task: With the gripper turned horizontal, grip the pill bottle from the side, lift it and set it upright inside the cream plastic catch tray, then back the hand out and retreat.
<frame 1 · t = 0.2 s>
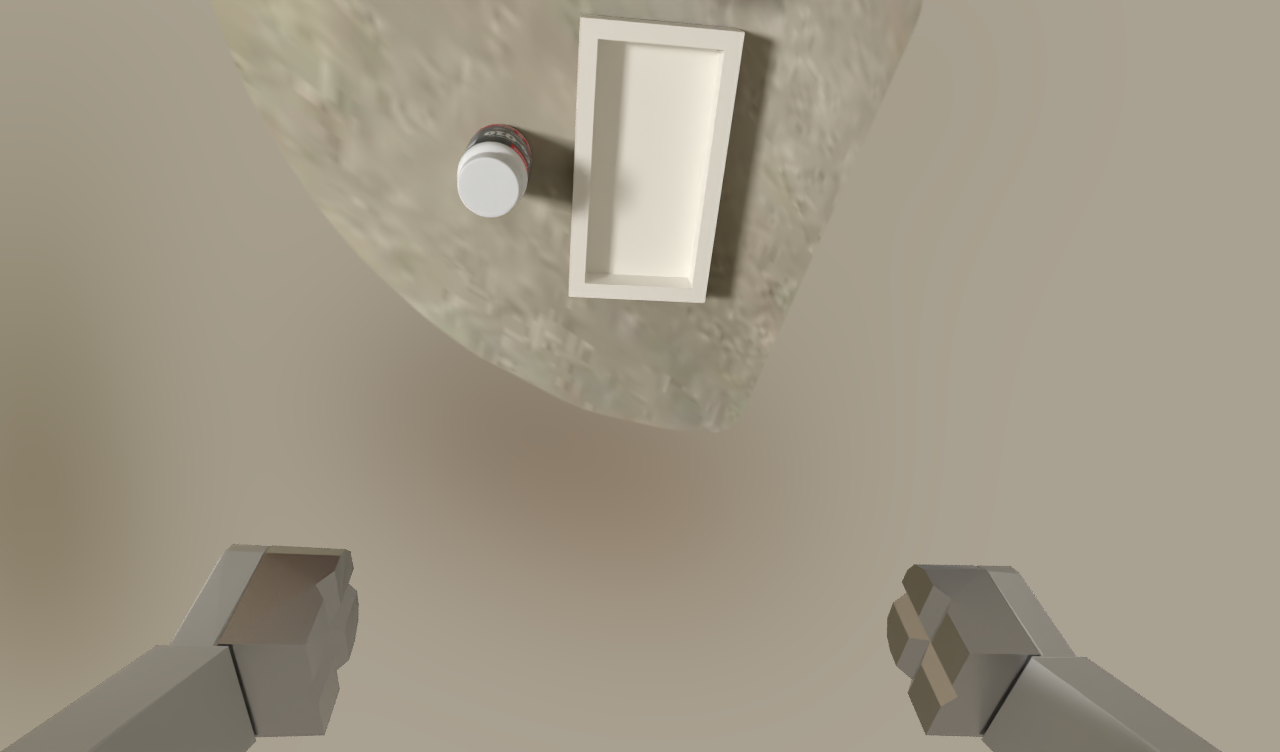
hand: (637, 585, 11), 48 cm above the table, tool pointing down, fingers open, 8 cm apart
pill bottle: (500, 154, 54), on the table
catch tray: (645, 165, 55), on the table
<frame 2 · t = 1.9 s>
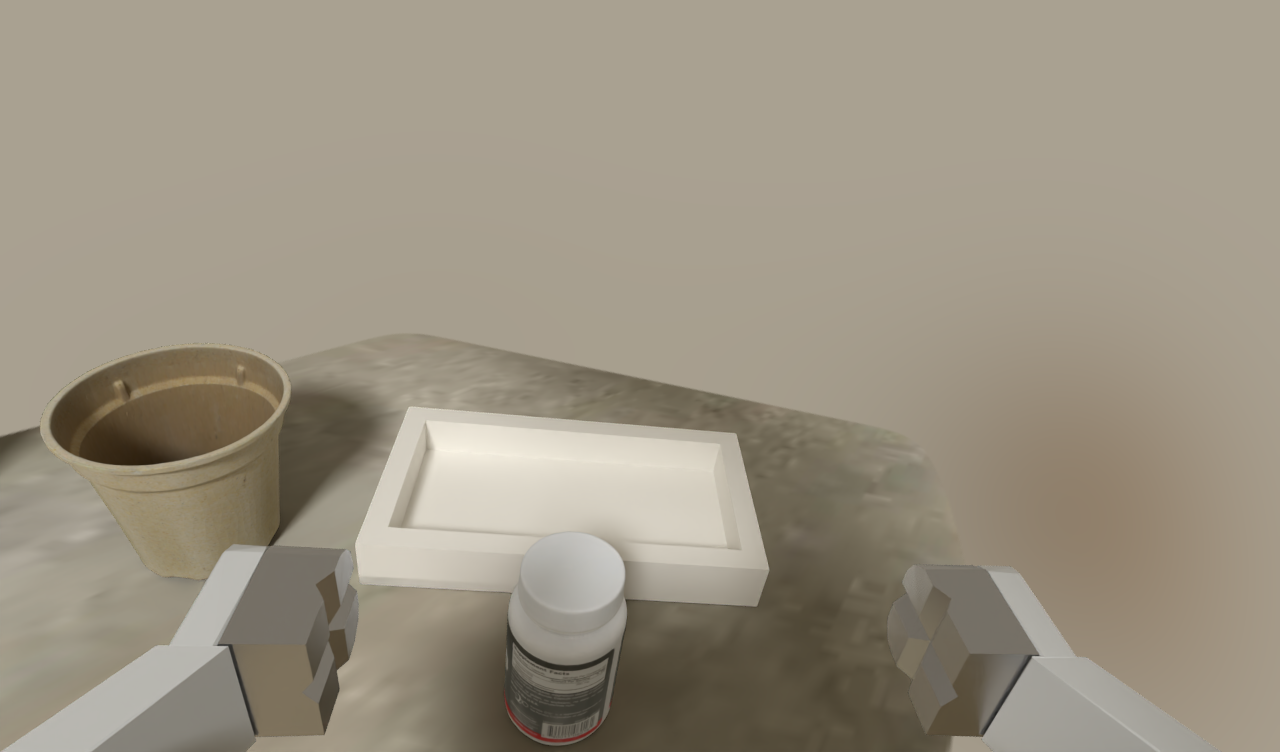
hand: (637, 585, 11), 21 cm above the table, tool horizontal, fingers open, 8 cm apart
pill bottle: (557, 699, 32), on the table
flower pot: (212, 539, 37), on the table
catch tray: (569, 517, 41), on the table
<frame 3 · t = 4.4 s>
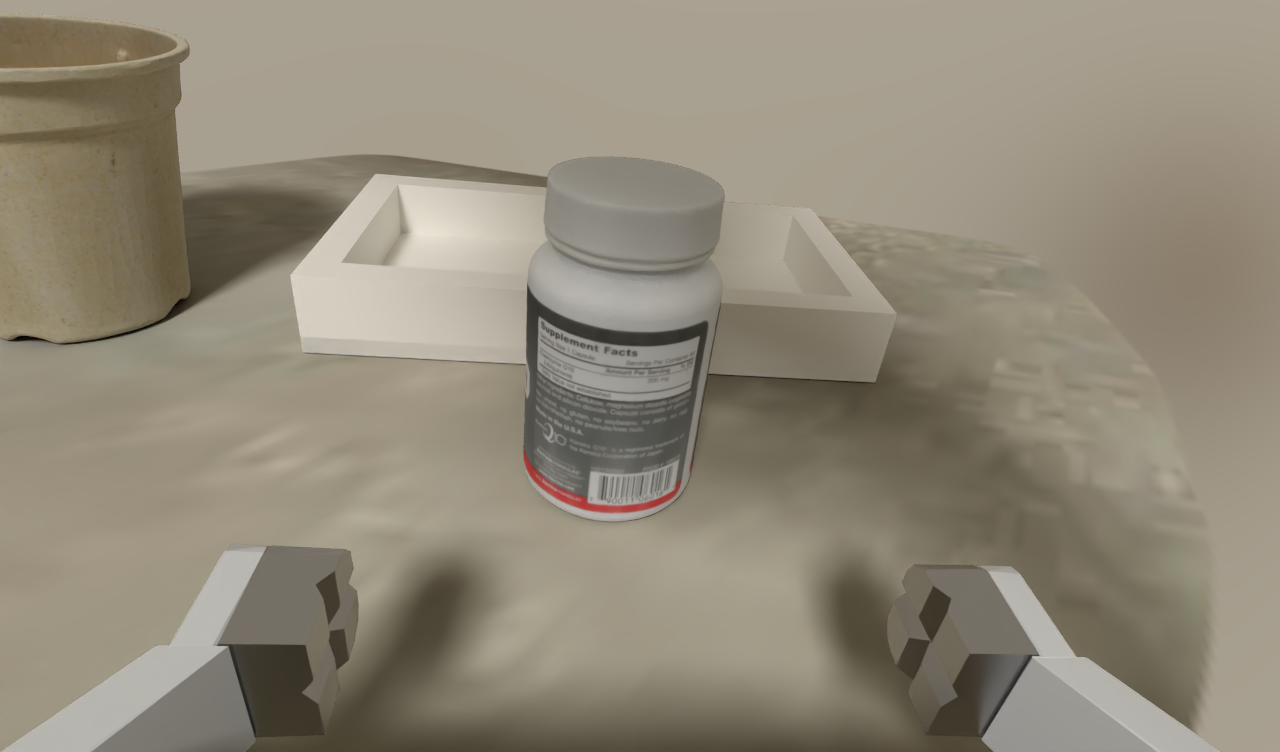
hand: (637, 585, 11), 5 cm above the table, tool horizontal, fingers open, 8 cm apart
pill bottle: (605, 474, 21), on the table
flower pot: (90, 310, 25), on the table
catch tray: (598, 299, 30), on the table
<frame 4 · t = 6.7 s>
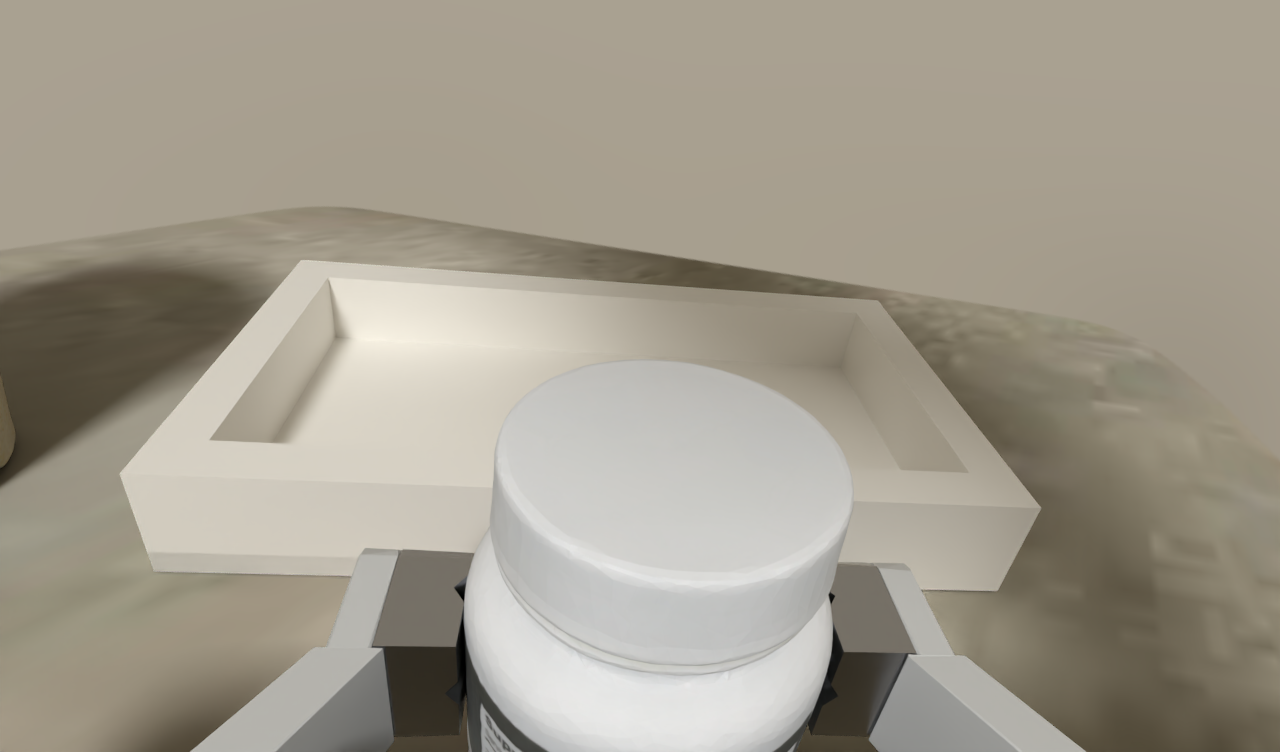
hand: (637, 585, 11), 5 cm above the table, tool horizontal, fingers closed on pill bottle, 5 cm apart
catch tray: (599, 441, 22), on the table
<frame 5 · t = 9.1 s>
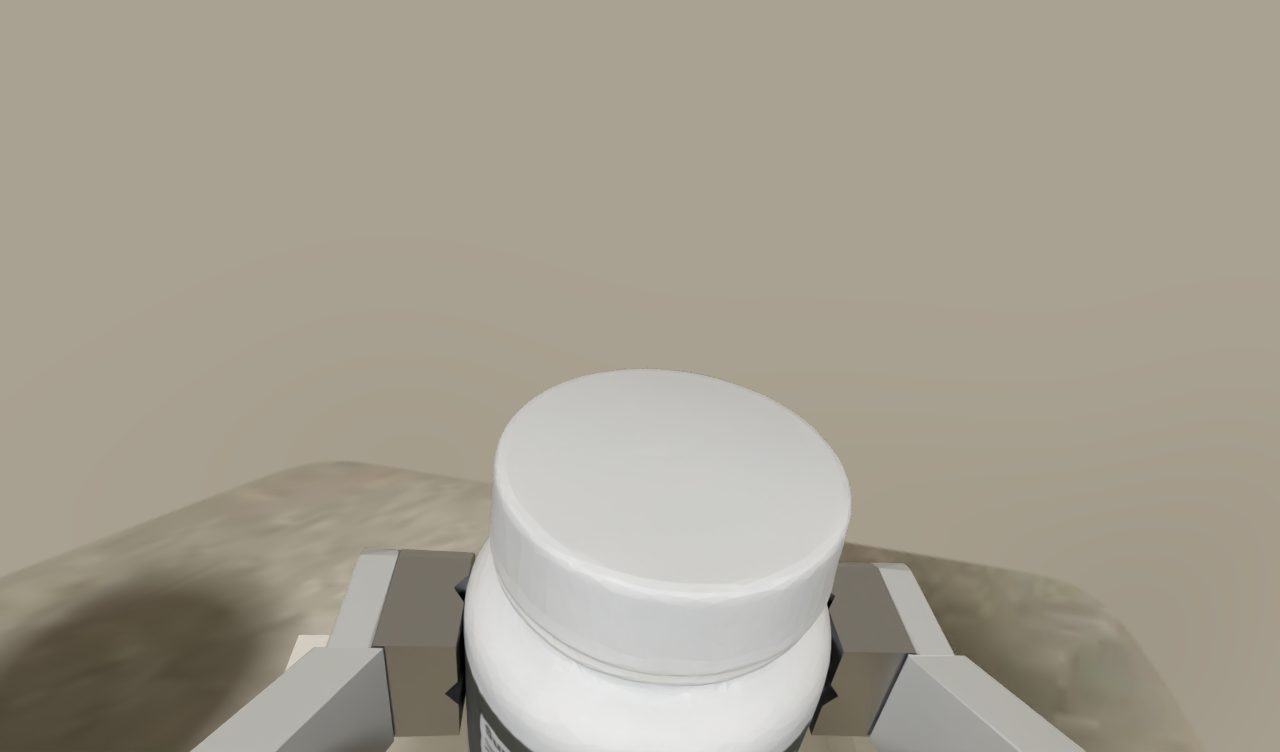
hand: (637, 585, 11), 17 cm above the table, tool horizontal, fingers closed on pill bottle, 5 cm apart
when the fingers open (7 cm above the table, at t = 11.8 s): pill bottle drops 1 cm, resting on catch tray.
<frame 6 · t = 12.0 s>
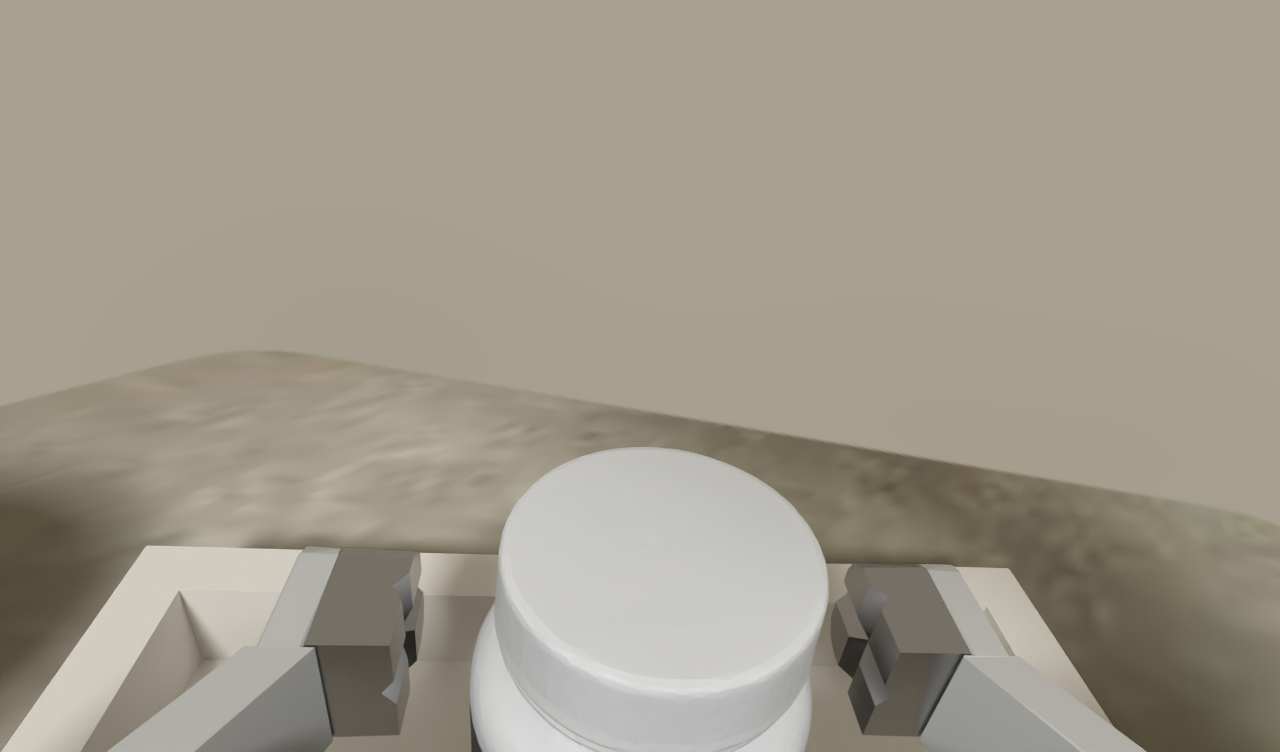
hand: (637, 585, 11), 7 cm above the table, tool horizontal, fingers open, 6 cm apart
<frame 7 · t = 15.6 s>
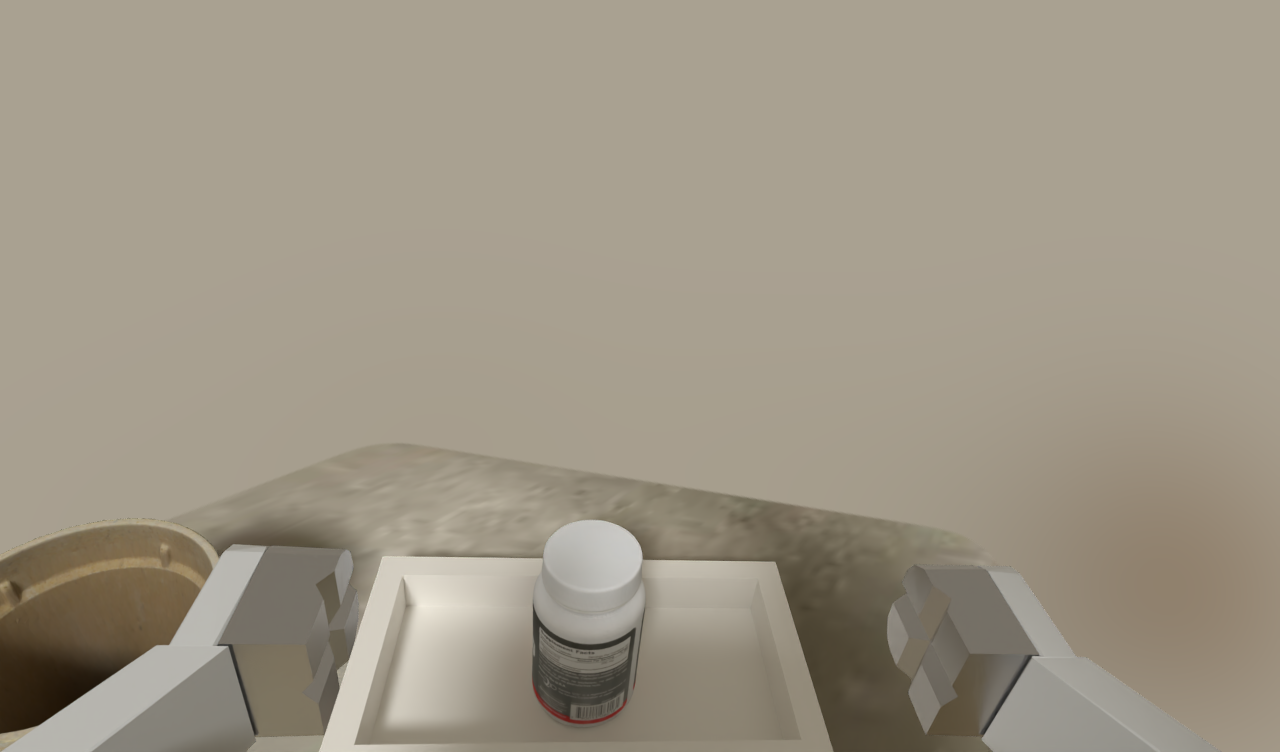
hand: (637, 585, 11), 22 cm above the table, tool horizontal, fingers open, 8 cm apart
pill bottle: (583, 685, 33), resting on catch tray
catch tray: (581, 689, 33), on the table
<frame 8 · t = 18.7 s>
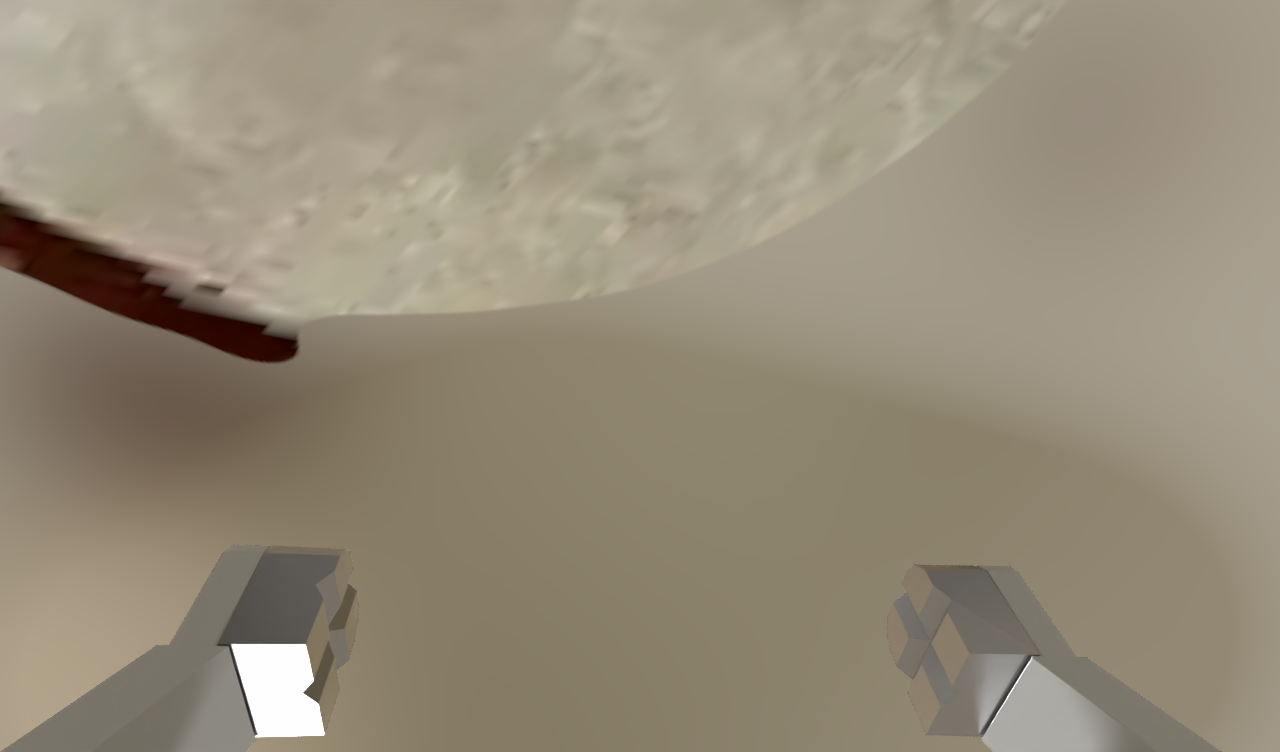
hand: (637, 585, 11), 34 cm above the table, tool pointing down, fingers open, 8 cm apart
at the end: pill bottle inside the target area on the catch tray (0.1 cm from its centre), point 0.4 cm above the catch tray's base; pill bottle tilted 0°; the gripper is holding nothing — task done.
